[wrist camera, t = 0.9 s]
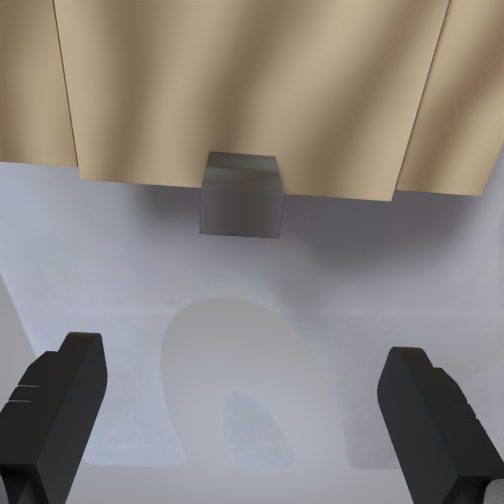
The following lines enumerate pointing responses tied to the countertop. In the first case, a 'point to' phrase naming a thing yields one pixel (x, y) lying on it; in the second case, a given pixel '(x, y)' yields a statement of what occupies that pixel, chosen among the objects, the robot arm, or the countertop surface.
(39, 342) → the countertop surface
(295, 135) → the lid flap
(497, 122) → the carton
